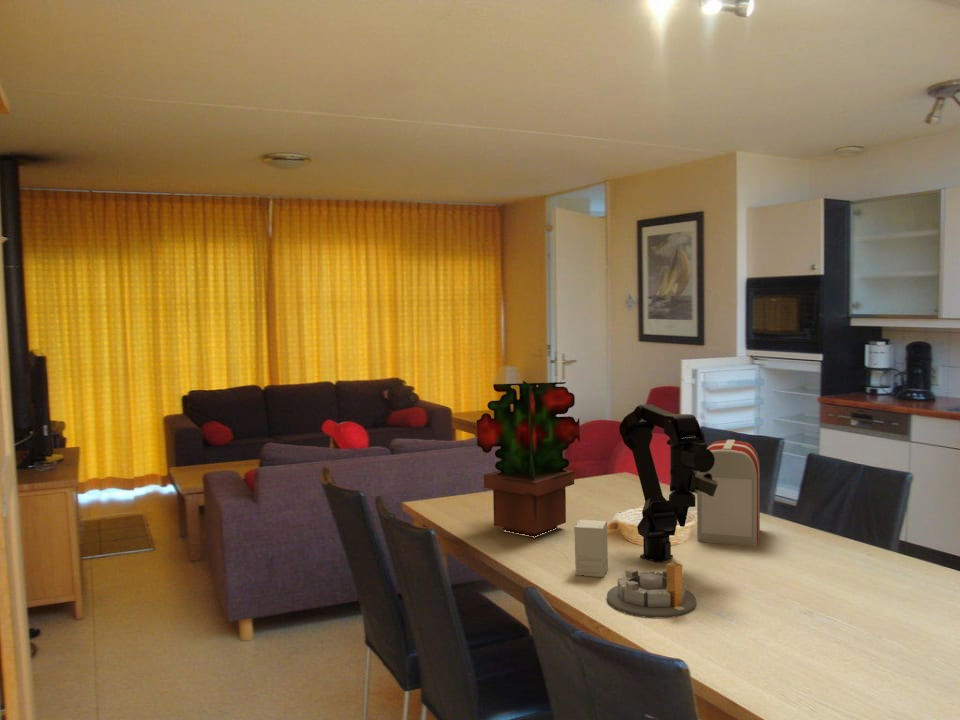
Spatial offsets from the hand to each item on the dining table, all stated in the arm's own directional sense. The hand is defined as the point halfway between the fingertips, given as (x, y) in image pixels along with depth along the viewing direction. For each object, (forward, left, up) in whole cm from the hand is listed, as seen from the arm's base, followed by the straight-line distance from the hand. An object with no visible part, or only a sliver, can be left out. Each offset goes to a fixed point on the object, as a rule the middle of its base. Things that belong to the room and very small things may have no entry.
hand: (682, 526), depth 201 cm
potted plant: (-55, +2, -12) cm, 56 cm away
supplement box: (-17, -15, -12) cm, 26 cm away
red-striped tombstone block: (-9, +38, -12) cm, 41 cm away
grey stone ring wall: (+6, -21, -11) cm, 24 cm away
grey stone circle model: (+5, -21, -12) cm, 25 cm away
